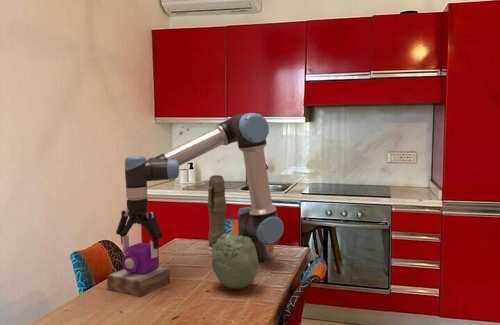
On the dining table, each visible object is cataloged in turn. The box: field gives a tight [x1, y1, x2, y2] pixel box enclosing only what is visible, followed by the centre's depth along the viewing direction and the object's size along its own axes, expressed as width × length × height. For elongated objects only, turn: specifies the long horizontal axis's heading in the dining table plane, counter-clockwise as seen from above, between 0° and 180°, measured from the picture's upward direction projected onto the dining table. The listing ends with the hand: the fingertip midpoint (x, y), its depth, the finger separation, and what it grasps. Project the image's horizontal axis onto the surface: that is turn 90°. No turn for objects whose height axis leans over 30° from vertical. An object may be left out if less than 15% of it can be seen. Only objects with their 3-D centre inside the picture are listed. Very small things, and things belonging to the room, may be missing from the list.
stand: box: [106, 266, 171, 298], centre depth 162 cm, size 16×16×5 cm
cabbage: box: [209, 233, 260, 290], centre depth 159 cm, size 16×19×20 cm
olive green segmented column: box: [207, 174, 227, 248], centre depth 217 cm, size 9×12×35 cm
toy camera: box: [121, 242, 160, 274], centre depth 161 cm, size 11×14×10 cm
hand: (140, 255), depth 162 cm, fingers open, 13 cm apart
